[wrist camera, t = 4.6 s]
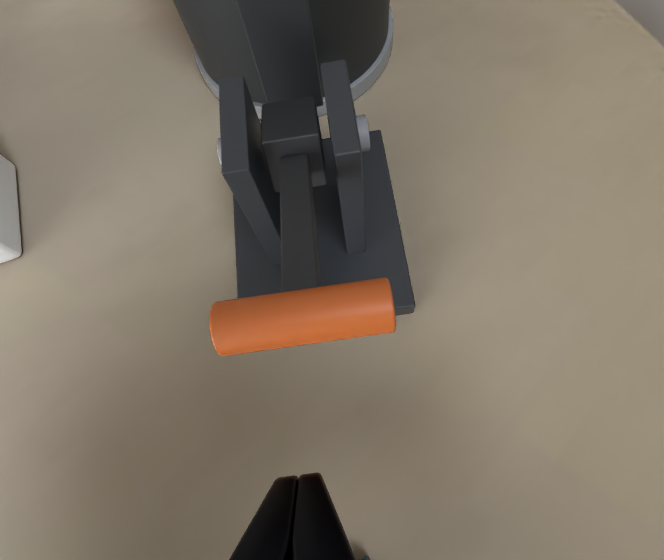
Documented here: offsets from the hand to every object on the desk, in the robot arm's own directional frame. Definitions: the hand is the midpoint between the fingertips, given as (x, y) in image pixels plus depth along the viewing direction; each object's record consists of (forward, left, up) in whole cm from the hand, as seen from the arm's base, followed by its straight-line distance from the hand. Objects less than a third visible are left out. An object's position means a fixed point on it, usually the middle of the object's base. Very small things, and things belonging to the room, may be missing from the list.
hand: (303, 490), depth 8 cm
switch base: (+8, -10, -13) cm, 18 cm away
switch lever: (+5, -6, -5) cm, 10 cm away
